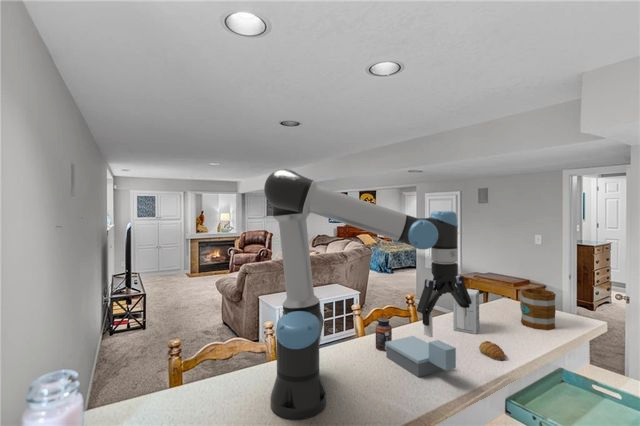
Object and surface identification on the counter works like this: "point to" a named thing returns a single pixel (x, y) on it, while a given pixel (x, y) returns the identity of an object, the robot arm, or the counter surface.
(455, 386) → the counter surface
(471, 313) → the supplement box
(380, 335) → the supplement bottle
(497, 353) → the pastry
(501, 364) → the counter surface
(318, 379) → the robot arm
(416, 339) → the lid
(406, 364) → the tub
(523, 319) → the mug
